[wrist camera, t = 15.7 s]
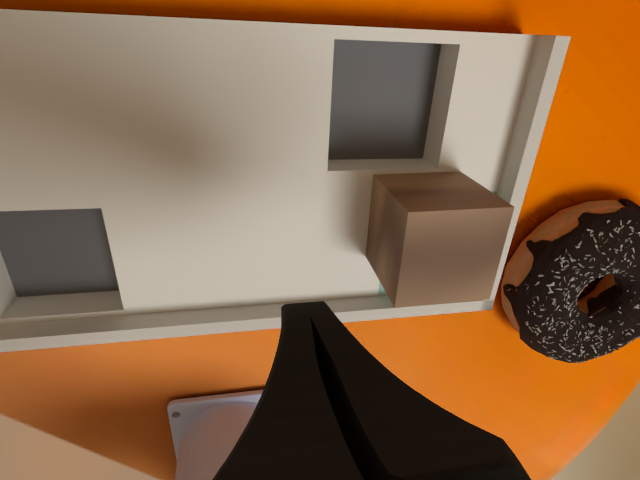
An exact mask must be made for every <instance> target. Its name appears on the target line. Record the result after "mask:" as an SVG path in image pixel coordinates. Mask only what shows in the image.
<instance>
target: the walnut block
mask: <svg viewBox="0 0 640 480" xmlns="http://www.w3.org/2000/svg"><path fill="white" fill-rule="evenodd" d="M513 211H514V206H512V205H511V204H509V203H508V202H506V201H505V200H503V199H502V198H500V197H499V196H497V195H495V194H494V193H492V192H491V191H489V190H488V189H486V188H485V187H483V186H482V185H480V184H479V183H477V182H476V181H474V180H473V179H471V178H470V177H468V176H467V175H465V174H463V173H462V172H430V173H400V174H373V182H372V193H371V203H370V214H369V225H368V236H367V246H366V258H367V260H368V262H369V263H370V265H371V267H372V269H373V270H374V272H375V274H376V276H377V277H378V279H379V281H380V283H381V285H382V286H383V288H384V290H385V292H386V293H387V295H388V297H389V299H390V301H391V302H392V304H393V306H394V308H401V307H411V306H422V305H433V304H443V303H454V302H465V301H476V300H486V299H490V296H491V292H492V289H493V285H494V281H495V278H496V274H497V270H498V267H499V263H500V259H501V255H502V252H503V248H504V244H505V241H506V237H507V233H508V229H509V226H510V222H511V218H512V215H513Z"/></svg>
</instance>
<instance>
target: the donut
mask: <svg viewBox="0 0 640 480" xmlns="http://www.w3.org/2000/svg"><path fill="white" fill-rule="evenodd" d="M598 277H599V278H600V277H603V278H602V279H601V280H600V281H599V282H598V284H597V285H596V287H595V288H594V290H592V291H591V292H590V293H588V294H587V295H586V296H585V297H583V298H581V299H579V300H578V296H579V294H580V293H581V292H582V291H584V288H585V287H586V286H587V285H588V283H590V282H591V281H592V280H595V279H596V278H598ZM501 300H502V306H503V309H504V311H505V313H506V315H507V317H508V319H509V321H510V323H511V325H512V327H513V328H515V329H516V330H517V331H518V332H519V333H520V339H521V340H522V341H524V342H525V343H526V344H527V345H528V346H529V347H530V348H532V349H533V350H535V351H537V352H539V353H541V354H543V355H545V356H547V357H549V358H551V359H556V360H560V361H564V362H568V363H576V362H578V363H580V362H585V361H588V360H590V359H593V358H597V357H600V356H603V355H606V354H608V353H612V351H614V350H619V348H621V347H623V346H624V347H625V345H626V344H630V343H629V342H631V341H633V340H634V339H636V338H639V337H640V206H638V205H637V204H635V203H633V202H632V201H630V200H628V199H620V200H619V201H617V200H600V201H587V202H584V203H581V204H578V205H574V206H571V207H568V208H565V209H562V210H560V211H559V212H557V213H556V214H554V215H553V216H551V217H550V218H548V219H547V220H545V221H544V222H542V223H541V224H540V225H539V226H538V227H536V228H535V229H534V230H533V231H532V232H531V233H530V234H529V235H528V236H527V237H526V238H525V239H524V240H523V241H522V242H521V243H520V245H519V246H518V248H517V249H516V251H515V253H514V254H513V256H512V257H511V259H510V260H509V262H508V263H507V265H506V267H505V271H504V275H503V280H502V284H501Z"/></svg>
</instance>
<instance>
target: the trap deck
mask: <svg viewBox="0 0 640 480" xmlns="http://www.w3.org/2000/svg"><path fill="white" fill-rule="evenodd" d="M570 38H571V36H550V35H528V34H507V33H486V32H466V31H445V30H425V29H404V28H383V27H363V26H342V25H322V24H301V23H280V22H260V21H239V20H219V19H198V18H178V17H157V16H136V15H116V14H95V13H75V12H54V11H33V10H13V9H0V352H11V351H22V350H34V349H45V348H57V347H68V346H80V345H91V344H103V343H114V342H126V341H137V340H149V339H160V338H172V337H183V336H195V335H206V334H218V333H229V332H241V331H252V330H264V329H275V328H281V307H282V306H283V305H284V304H290V303H303V302H316V301H324V302H325V303H326V304H327V305H328V306H329V307H330V309H331V310H332V311H333V313H334V314H335V315H336V316H337V318H338V319H339V320H340V321H341V322H342V323H344V322H356V321H367V320H379V319H390V318H402V317H413V316H425V315H436V314H448V313H459V312H471V311H482V310H492V306H493V303H494V300H495V296H496V293H497V289H498V286H499V282H500V279H501V275H502V272H503V269H504V265H505V262H506V258H507V255H508V251H509V248H510V245H511V241H512V238H513V234H514V231H515V227H516V224H517V220H518V217H519V214H520V210H521V207H522V203H523V200H524V196H525V193H526V190H527V186H528V183H529V179H530V176H531V172H532V169H533V165H534V162H535V159H536V155H537V152H538V148H539V145H540V141H541V138H542V135H543V131H544V128H545V124H546V121H547V117H548V114H549V110H550V107H551V104H552V100H553V97H554V93H555V90H556V86H557V83H558V80H559V76H560V73H561V69H562V66H563V62H564V59H565V55H566V52H567V49H568V45H569V42H570ZM430 172H462V173H463V174H465V175H467V176H468V177H470V178H471V179H473V180H474V181H476V182H477V183H479V184H480V185H482V186H483V187H485V188H486V189H488V190H489V191H491V192H492V193H494V194H495V195H497V196H499V197H500V198H502V199H503V200H505V201H506V202H508V203H509V204H511V205H512V206H514V211H513V215H512V218H511V222H510V226H509V229H508V233H507V237H506V241H505V244H504V248H503V252H502V255H501V259H500V263H499V267H498V270H497V274H496V278H495V281H494V285H493V289H492V292H491V296H490V299H486V300H476V301H465V302H454V303H443V304H433V305H422V306H411V307H401V308H394V306H393V304H392V302H391V301H390V299H389V297H388V295H387V293H386V292H385V290H384V288H383V286H382V285H381V283H380V281H379V279H378V277H377V276H376V274H375V272H374V270H373V269H372V267H371V265H370V263H369V262H368V260H367V258H366V246H367V236H368V225H369V214H370V203H371V193H372V182H373V174H400V173H430Z"/></svg>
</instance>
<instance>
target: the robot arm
mask: <svg viewBox="0 0 640 480" xmlns="http://www.w3.org/2000/svg"><path fill="white" fill-rule="evenodd" d="M167 412H168V417H169V423H170V428H171V433H172V439H173V444H174V449H175V455H176V460H177V465H176V473H175V480H531V479H530V477H529V476H528V474H527V473H526V471H525V469H524V468H523V466H522V465H521V463H520V462H519V460H518V459H517V457H516V456H515V454H514V453H513V452H512V450H511V449H510V448H509V447H508V445H507V444H506V443H505V441H504V440H503V439H501V438H499V437H497V436H495V435H493V434H491V433H489V432H487V431H485V430H483V429H481V428H479V427H476V426H474V425H472V424H470V423H468V422H466V421H464V420H462V419H461V418H459V417H457V416H455V415H454V414H452V413H450V412H448V411H446V410H445V409H443V408H441V407H440V406H438V405H436V404H435V403H433V402H432V401H430V400H429V399H427V398H426V397H424V396H423V395H421V394H420V393H418V392H417V391H415V390H414V389H412V388H411V387H409V386H408V385H407V384H405V383H404V382H403V381H401V380H400V379H399V378H398V377H396V376H395V375H394V374H393V373H391V372H390V371H389V370H388V369H387V368H385V367H384V366H383V365H382V364H381V363H380V362H379V361H378V360H377V359H376V358H375V357H374V356H372V355H371V354H370V353H369V352H368V351H367V350H366V349H365V348H364V347H363V346H362V345H361V344H360V342H359V341H358V340H357V339H356V338H355V337H354V336H353V335H352V334H351V333H350V332H349V331H348V329H347V328H346V327H345V326H344V325H343V324H342V322H341V321H340V320H339V319H338V318H337V316H336V315H335V314H334V313H333V311H332V310H331V309H330V307H329V306H328V305H327V304H326V303H325V302H324V301H316V302H303V303H290V304H284V305H283V306H282V307H281V334H280V339H279V343H278V348H277V352H276V355H275V359H274V362H273V365H272V368H271V371H270V374H269V377H268V380H267V382H266V385H265V387H264V390H255V391H246V392H238V393H229V394H220V395H211V396H202V397H193V398H185V399H176V400H172V401H170V402H169V403H168V407H167ZM175 412H178V413H175Z"/></svg>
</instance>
